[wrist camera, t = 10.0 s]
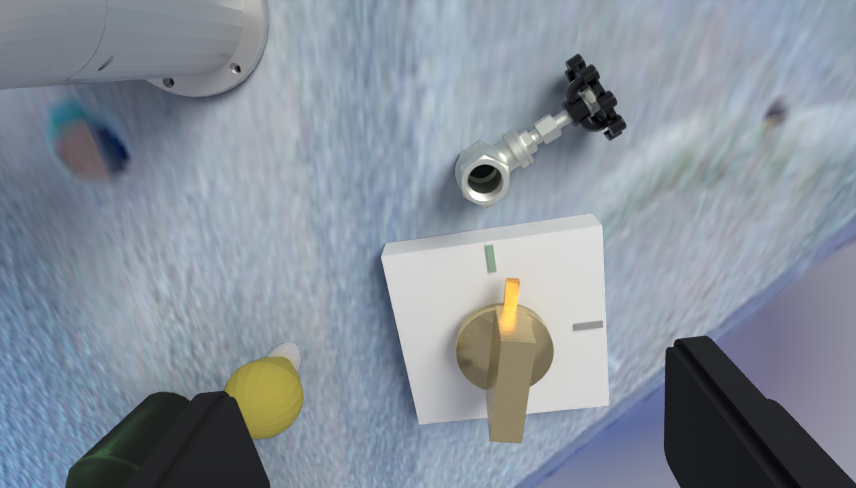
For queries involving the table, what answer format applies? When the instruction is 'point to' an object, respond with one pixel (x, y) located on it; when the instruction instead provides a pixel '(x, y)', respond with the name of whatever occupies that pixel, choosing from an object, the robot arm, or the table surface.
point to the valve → (539, 135)
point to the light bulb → (269, 391)
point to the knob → (505, 359)
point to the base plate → (485, 284)
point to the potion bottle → (127, 444)
